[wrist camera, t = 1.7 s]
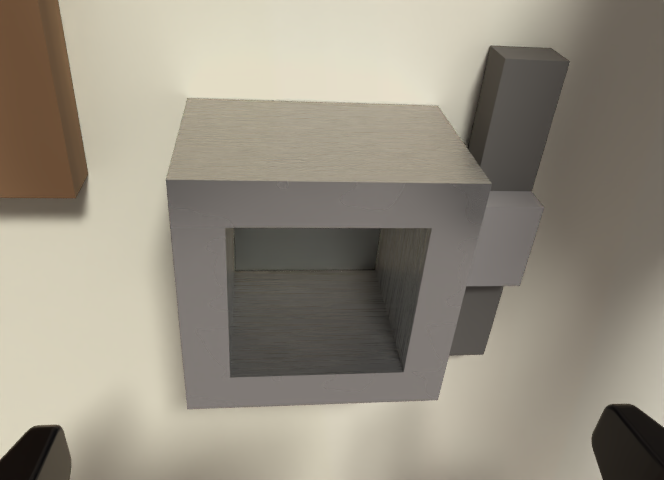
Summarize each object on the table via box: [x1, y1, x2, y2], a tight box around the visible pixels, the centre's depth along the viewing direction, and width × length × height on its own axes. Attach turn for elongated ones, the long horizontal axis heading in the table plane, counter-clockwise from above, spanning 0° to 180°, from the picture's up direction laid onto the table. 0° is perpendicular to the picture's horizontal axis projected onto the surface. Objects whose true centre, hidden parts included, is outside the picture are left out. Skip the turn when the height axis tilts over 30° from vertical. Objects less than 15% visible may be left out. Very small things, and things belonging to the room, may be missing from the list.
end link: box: [166, 98, 492, 409], centre depth 14 cm, size 6×6×4 cm
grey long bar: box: [449, 46, 570, 355], centre depth 16 cm, size 2×9×2 cm, turn 176°
